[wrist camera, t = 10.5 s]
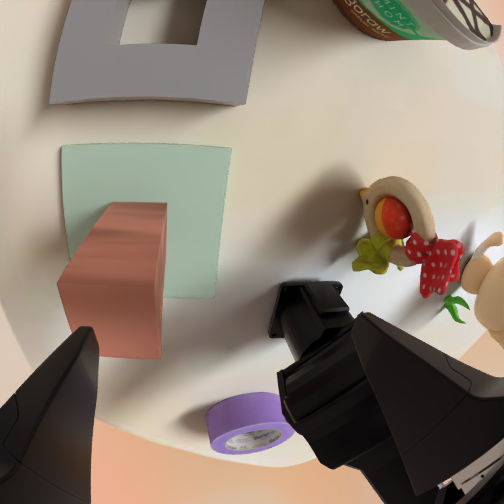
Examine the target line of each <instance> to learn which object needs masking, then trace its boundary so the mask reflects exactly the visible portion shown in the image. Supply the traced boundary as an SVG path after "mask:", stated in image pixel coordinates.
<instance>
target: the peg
mask: <svg viewBox="0 0 504 504" xmlns="http://www.w3.org/2000/svg"><path fill="white" fill-rule="evenodd" d="M166 242H167V203H162V202H112V203H111V204H110V205H109V207H108V208H107V209H106V211H105V212H104V213H103V214H102V216H101V217H100V219H99V220H98V221H97V223H96V224H95V225H94V227H93V228H92V230H91V231H90V232H89V234H88V235H87V237H86V238H85V240H84V241H83V243H82V244H81V245H80V247H79V248H78V250H77V252H76V253H75V255H74V256H73V258H72V259H71V261H70V262H69V264H68V266H67V267H66V269H65V270H64V272H63V274H62V275H61V277H60V279H59V280H58V282H57V286H58V289H59V293H60V297H61V300H62V304H63V307H64V310H65V314H66V317H67V320H68V323H69V326H70V329H71V332H72V333H73V332H74V331H75V330H76V329H77V328H78V327H80V326H91V327H92V328H93V329H94V332H95V335H96V338H97V341H98V344H99V350H100V352H99V356H103V357H117V358H135V359H161V328H162V306H163V290H164V276H165V265H166Z"/></svg>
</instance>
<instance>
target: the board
mask: <svg viewBox="0 0 504 504" xmlns="http://www.w3.org/2000/svg"><path fill="white" fill-rule="evenodd" d="M231 150H232V149H231V148H225V147H214V146H202V145H187V144H166V143H97V144H77V145H65V146H62V156H61V164H62V193H63V207H64V218H65V227H66V235H67V243H68V249H69V256H70V261H71V259H72V258H73V256H74V255H75V253H76V252H77V250H78V248H79V247H80V245H81V244H82V243H83V241H84V240H85V238H86V237H87V235H88V234H89V232H90V231H91V230H92V228H93V227H94V225H95V224H96V223H97V221H98V220H99V219H100V217H101V216H102V214H103V213H104V212H105V211H106V209H107V208H108V207H109V205H110V204H111V203H112V202H162V203H167V242H166V265H165V276H164V290H163V297H172V298H214V296H215V285H216V275H217V265H218V256H219V246H220V237H221V228H222V220H223V211H224V203H225V195H226V187H227V180H228V172H229V165H230V157H231Z"/></svg>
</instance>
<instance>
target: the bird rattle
mask: <svg viewBox="0 0 504 504" xmlns="http://www.w3.org/2000/svg"><path fill="white" fill-rule="evenodd" d="M360 197H361V200H362V202H363V207H364V217H365V222H366V226H367V229H368V232H369V235H370V237H371V240H370V239H367V238H362V239H360V240H359V241H358V243H357V245H356V247H357V251H358V253H359V257H358V258H357V259H356V260H355V261H353V262H352V269H353V271H362V270H367V269H369V270H370V271H372V272H373V273H375V274H385V273H386V272H387V269H388V267H389V263H393V264H395V265H397V266H398V269H399V270H400V271H401V270H402V269H403V267H410V266H414V265H416V264H421V263H422V267H421V275H420V293H421V295H422V297H423V298H428V297H429V296H430V295H431V294H432V293H433V292H436V293H437V294H439V295H442V294H444V293H445V291H446V289H447V285H448V282H456V281H458V280H459V279H460V269H459V261H460V259H461V257H462V256H463V254H464V246H463V244H462V243H461V242H459V241H457V240H454V239H453V240H444V239H438V237H437V234H436V233H435V225H434V219H433V215H432V212H431V209H430V207H429V205H428V203H427V201H426V199H425V197H424V196H423V194H422V193H421V192H420V191H419V189H418V188H417V187H416V186H415V185H413V184H412V183H411V182H409V181H408V180H406V179H403V178H400V177H395V176H390V177H386V178H383V179H379V180H377V181H376V182H374V183H373V184H372V185H371V186H370V187H369V188H366V189H363V190H362V191H361V192H360ZM410 235H411V237H410V238H409V239H408V240H407V242H406V246H404V242H403V239H404V238H406V237H408V236H410Z"/></svg>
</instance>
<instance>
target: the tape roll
mask: <svg viewBox="0 0 504 504" xmlns="http://www.w3.org/2000/svg"><path fill="white" fill-rule="evenodd" d="M206 421H207V427H208V433H209V439H210V444H211V448H212V449H213V450H214V451H216V452H219V453H223V454H232V455H235V454H248V453H254V452H259V451H263V450H266V449H269V448H272V447H274V446H277V445H279V444H281V443H283V442H284V441H286V440H287V439H289V438H290V437H291V436H292V435H293V434H294V432H295V430H294V429H293V428H292V427H291V425H290V424H288V423H287V422H286V420H285V417H284V416H283V414H282V410H281V402H280V396H279V395H276V394H272V393H263V392H262V393H248V394H242V395H238V396H234V397H231V398H228V399H226V400H223V401H221V402H219V403H217V404H216V405H214V406H213V407H212V408H211V409H210V410H209V411H208V412H207V415H206Z"/></svg>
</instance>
